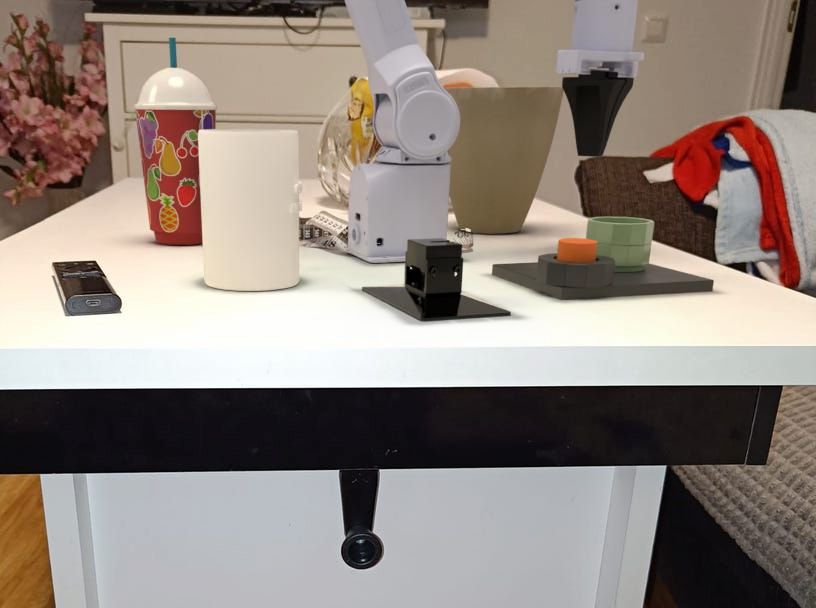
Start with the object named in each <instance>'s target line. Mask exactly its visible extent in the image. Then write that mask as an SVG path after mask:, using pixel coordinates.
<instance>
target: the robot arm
mask: <svg viewBox="0 0 816 608" xmlns="http://www.w3.org/2000/svg"><path fill="white" fill-rule="evenodd" d="M344 3H345V6H346V9H347V12H348V15H349V17H350V21H351V23H352V26H353V29H354V31H355V34H356V37H357V40H358V43H359V46H360V48H361V51H362V54H363V57H364V60H365V63H366V66H367V84H368V89H369V93H370V96H371V99H372V104H373V113H372V129H373V134H374V136H375V138H376V139H377V142H378V143H379V144H380V145H381V147H379V150H378V151H377V153H375V161H376V162H373V163H358V164H356V165H355V166H354V167H353V168H352V170H351V173H350V176H349V177H350V178H349V183H348V211H347V212H348V216H347V218H348V219H347V220H348V221H347V246H346V247H345V252H346V253H348V254H351V255H353V256H355V257H357V258H359V259H361V260H363V261H366V262H368V263H371V264H381V263H405V252H406V251H407V241H408V239H433V238H443V239H446V240H448V225H449V207H450V196H449V189H450V170H451V164H450V163H448V162H451V157H450V156H449V155H448V153H447V150H448V149H449V148H450V147H451V146H452V145H453V143H454V142H455V140H456V138H457V135H458V132H459V128H460V113H459V109H458V106H457V104H456V102H455V100H454V99H453V97H452V96H451V95H450V94H449V93H448V92H447V91H446V90H445V89H444V88H445V87H443V86H442V84H441V82H440V80H439V78H438V76H437V73H436V69H435V67H434V64H432V62H431V59H430V58H429V57H428V56H427V54H426V53H425V52H424V50H423V48H422V47H421V45H420V44H419V40H418V37H417V34H416V31H415V27H414V25H413V22H412V19H411V16H410V12H409V9H408V6H407V4H406V1H405V0H344ZM638 6H639V0H574V5H573V17H572V27H571V36H570V37H571V39H570V47H569V49H563V50H562V49H559V50H557V55H556V66H555V74H559V75H567V74H568V75H578V76H563V77H562V79H561V80H562V81H561V87H562V88H563V90H564V92H563V93H564V95H565V97H566V99H567V102H568V105H569V109H570V113H571V117H572V122H573V129H574V137H575V139H574V140H575V146H576V152H577V157H592V158H593V157H594V158H595V157H596V158H597V157H599V158H600V157H603V156H604V153H605V151H606V147H607V144H608V142H609V139H610V135H611V132H612V129H613V126H614V124H615V120H616V119H617V116H618V113H619V111H620V109H621V107H622V106H623V103H624V101H625V99H626V98H627V96H628V95H629V94H630V91H631V90H632V89H633V86H634V80H635V78H637V77H638V71H639V70H638V69H639V62H642V61H644V59H645V53H644V52H641V51H640V52H639V51H633V48H634V39H635V29H636V21H637V13H638ZM377 243H380V244H377Z"/></svg>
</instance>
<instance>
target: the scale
mask: <svg viewBox="0 0 816 608" xmlns="http://www.w3.org/2000/svg"><path fill="white" fill-rule="evenodd" d="M614 268H615V260H614V259H613V258H610V257H606V256H601V255H596V261H595V262H569V261H561V260H557V252H553V253H551V252H550V253H545V254H541V255H538V258H537V261H534V262H514V263H513V262H511V263H509V262H508V263H493V264H492V268H491V275H492V276H494V277H497V278H499V279H502V280H505V281H508V282H510V283H513V284H516V285H518V286H521V287H524V288H526V289H530V290H532V291H535V292H538V293H540V294H543V295H546V296H549V297H552V298H554V299H556V300H560V301H570V300H571V301H572V300H587V299H589V300H590V299H605V298H623V297H624V298H625V297H640V296H641V297H642V296H657V295H672V294H676V295H677V294H690V293H693V294H694V293H708V292H710V293H711V292H713V290H714V283H715V280H714V279H711V278H707V277H704V276H700V275H696V274H693V273H688V272H684V271H681V270H677V269H673V268H668V267H665V266H661V265H657V264H653V263H649V264H647V265H645V269H644V270H642V271H637V272H614Z"/></svg>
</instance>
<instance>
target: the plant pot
mask: <svg viewBox="0 0 816 608" xmlns="http://www.w3.org/2000/svg"><path fill="white" fill-rule="evenodd" d="M443 88H444V89H445V90H446V91H447V92H448V93H449V94H450V95H451V96H452V97H453V99H454V100H455V102H456V104H457V106H458V109H459V113H460V128H459V132H458V135H457V138H456V140H455V142H454V143H453V145H452V146H451V147H450V148H449V149H448V150H447V153H448V155H449V156H450V157H451V162H448V163H450V164H451V170H450V189H449V201H450V202H451V207H452V211H453V213H454V218H455V220H456V224H457V227H458V229H459V230H460V231H461V229H465V228H469V229H471V232H472V233H471V234H484V235H486V234H487V235H494V234H495V235H496V234H497V235H498V234H502V235H503V234H513V233H517V232H520V231H521V230H522V228H523V226H524V224H525V221H526V219H527V217H528V214H529V211H530V209H531V207H532V204H533V202H534V199H535V197H536V194H537V191H538V189H539V186H540V183H541V180H542V177H543V174H544V171H545V169H546V168H545V167H546V165H547V162H548V158H549V155H550V152H551V148H552V144H553V141H554V137H555V133H556V128H557V125H558V121H559V116H560V111H561V106H562V102H563V101H562V100H563V96H564V93H565V92H564V90H563V88H562V86H493V87H492V86H485V87H478V86H476V87H475V86H474V87H473V86H471V87H470V86H469V87H443Z"/></svg>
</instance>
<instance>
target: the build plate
mask: <svg viewBox="0 0 816 608" xmlns="http://www.w3.org/2000/svg"><path fill="white" fill-rule="evenodd" d="M463 271H464V257H463V243H459V242H455V241H451V240H449V239H447V240H446V239H443V238H433V239H408V241H407V251H406V252H405V262H404V282H403V284H389V285H371V286H369V285H368V286H362V287H361V291H362V292H363V293H366V294H368V295H370V296H371V297H374V298H376V299H377V300H379V301H381V302H383V303H385V304H387V305H389V306H391V307H392V308H394V309H396V310H398V311H400V312H402V313H404V314H405V315H408V316H409V317H412V318H414V319H415V320H417V321H419V322H425V323H426V322H428V323H429V322H440V321H441V322H442V321H443V322H444V321H454V320H455V321H457V320H470V319H471V320H472V319H485V318H501V317H511V315H512V311H510V310H508V309H505V308H503V307H501V306H498V305H496V304H493V303H492V302H488V301H486V300H483V299H481V298H479V297H476V296H474V295H471V294H469V293H467V292H464V291H463Z"/></svg>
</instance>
